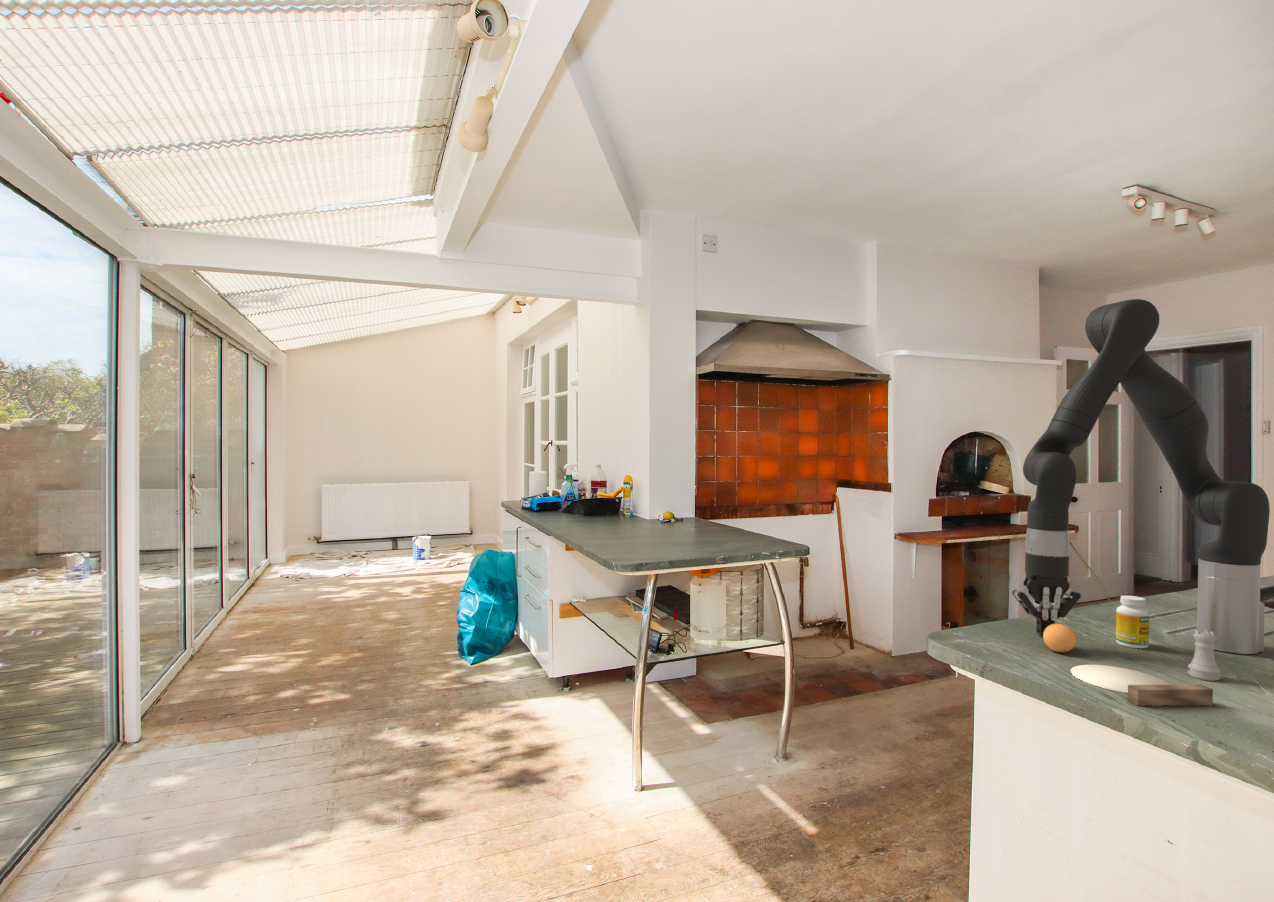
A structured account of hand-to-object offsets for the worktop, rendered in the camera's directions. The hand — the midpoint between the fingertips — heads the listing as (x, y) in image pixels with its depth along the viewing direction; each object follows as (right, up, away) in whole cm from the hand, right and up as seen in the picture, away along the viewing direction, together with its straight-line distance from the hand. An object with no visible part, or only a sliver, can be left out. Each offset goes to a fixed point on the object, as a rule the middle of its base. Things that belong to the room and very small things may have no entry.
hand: (1045, 637), depth 131 cm
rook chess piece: (+17, -2, -17) cm, 24 cm away
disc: (+1, -2, -19) cm, 19 cm away
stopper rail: (+1, -2, -29) cm, 29 cm away
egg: (0, +1, -4) cm, 4 cm away
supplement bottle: (+18, -2, +1) cm, 18 cm away
